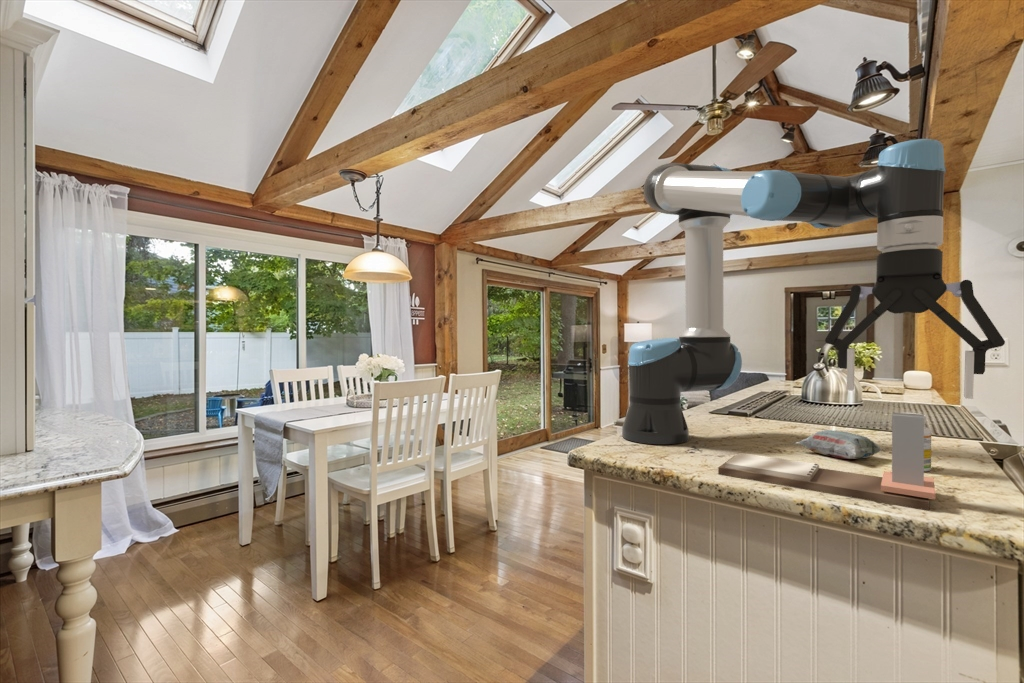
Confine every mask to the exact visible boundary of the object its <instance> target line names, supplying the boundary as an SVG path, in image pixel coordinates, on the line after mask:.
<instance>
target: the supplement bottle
mask: <svg viewBox="0 0 1024 683" xmlns="http://www.w3.org/2000/svg"><path fill="white" fill-rule="evenodd" d="M907 413H908V414H918V412H917V413H915V412H907ZM920 414H921V415H924V473H925V472H926V473H927V472H930V471H931V470H932V431H931V429H930V428H929V427H927V426H926V425H925V424H927V415H925V414H923V413H920Z"/></svg>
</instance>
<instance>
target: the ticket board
mask: <svg viewBox="0 0 1024 683" xmlns="http://www.w3.org/2000/svg"><path fill="white" fill-rule="evenodd" d="M717 470H718V473H717V474H718V475H720V476H721V475H722V476H727V477H733V478H740V479H745V480H751V481H755V482H762V483H768V484H774V485H780V486H786V487H791V488H795V489H803V490H808V491H813V492H820V493H826V494H831V495H836V496H837V495H838V496H842V497H848V498H854V499H861V500H866V501H871V502H877V503H881V504H882V503H884V504H889V505H895V506H900V507H901V506H902V507H906V508H912V509H917V510H918V509H919V510H922V511H923V510H924V511H930V499H929V498H923V497H917V496H910V495H904V494H898V493H892V492H886V491H881V482H882V478H883V476H875V475H869V474H864V473H863V474H862V473H858V472H857V473H856V472H850V471H842V470H835V469H830V468H824V467H823V468H821V467H820V464H819V463H814V462H806V461H801V460H800V461H799V460H794V459H793V460H792V459H786V458H779V457H772V456H766V455H765V456H764V455H756V454H751V453H743V452H738V453H737V454H736V455H733V457H731V458H729V459H728V460H726V461H725V462H724V463H722V464H721V465H720V466H718V467H717Z"/></svg>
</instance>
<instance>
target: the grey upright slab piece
mask: <svg viewBox="0 0 1024 683" xmlns="http://www.w3.org/2000/svg"><path fill="white" fill-rule="evenodd" d="M908 413H909V412H892V414H891V471H886V470H883V473H882V477H883V478H882V482H881V491H886V492H892V493H898V494H904V495H910V496H917V497H923V498H929V500H936V488H935V485H936V484H935V479H934V477H927V476H925V472H924V426H925V424H924V415H925V414H923V415H921V414H922V413H917V414H908Z"/></svg>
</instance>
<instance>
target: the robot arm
mask: <svg viewBox="0 0 1024 683" xmlns="http://www.w3.org/2000/svg"><path fill="white" fill-rule="evenodd" d="M877 161H878V162H876V164H877V167H875V168H872V169H869V170H867V171H864V172H863V171H862V172H859V173H857V174H854V175H849V176H840V175H827V174H817V173H814V174H813V173H804V172H797V171H795V172H794V171H788V170H784V169H783V170H782V169H769V170H768V169H765V170H761V171H755V170H754V171H753V170H752V171H746V170H745V171H741V170H737V171H736V170H735V171H734V170H733V171H732V169H730V168H727V167H726V168H725V167H721V166H717V165H700V164H691V163H690V164H689V163H682V162H669V163H664V164H661V165H659V166H657V167H656V168H655V169H653V170H651V171H650V173H649V174H648V175H647V177H646V179H645V181H644V184H643V195H644V200H645V201H646V203H647V205H648V206H649V207H650V208H651V209H652V210H654V211H656V212H658V213H661V214H665V215H675V216H678V227H679V228H680V229H682V230H683V231H684V234H685V235H684V242H685V243H684V244H685V246H684V248H685V249H684V252H685V253H684V255H685V257H684V258H685V261H684V262H685V263H684V264H685V270H684V271H685V273H684V274H685V289H684V290H685V328H684V330H683V331H682V332H681V333H680V334H679V335H678V336H679V337H664V338H655V339H646V340H642V341H637V342H634V343H633V344H631V346H630V347H629V350H628V351H629V353H628V361H627V362H628V378H629V379H628V381H629V382H628V384H629V388H628V390H629V392H628V395H629V398H628V399H629V404H628V405H629V406H628V408H627V411H626V415H625V418H624V421H623V424H622V428H621V432H622V435H621V436H622V438H624V439H625V440H628V441H630V442H635V443H640V444H648V445H677V444H683V443H686V442H688V441H689V439H690V431H689V428H688V427H689V426H688V424H687V421H686V418H685V416H684V413H683V410H682V407H681V406H682V405H681V397H682V396H681V394H682V393H687V392H688V393H689V392H702V391H704V392H705V391H706V392H714V391H719V390H725V389H728V388H730V387H731V386H733V384H734V383H736V382H737V380H738V379H739V376H740V375H741V372H742V365H743V363H742V362H743V359H742V354H741V352H740V351H739V348H738V347H737V346H736V345H735V344H734V343H732V342H731V334H730V333H728V332H727V330H726V329H725V327H724V229H725V227H726V226H727V225H728V224H729V223H730V222H731V216H732V215H734V216H742V217H750V218H752V219H754V220H755V219H756V220H760V221H768V222H772V221H773V222H776V221H779V222H782V221H783V222H800V223H801V222H802V223H808V224H810V225H811V227H814V228H815V229H820V230H821V229H822V230H823V229H829V228H835V229H836V228H840V227H842V226H845V225H850V224H854V223H857V222H862V221H866V220H872V219H875V218H876V219H877V226H876V227H877V228H876V230H877V231H876V232H877V234H876V249H877V251H879V252H881V253H879V254H878V255H877V256H876V275H875V276H876V279H875V284H874V286H860V285H858V284H855V285H852V286H851V288H850V292H849V293H850V294H849V299H848V301H847V303H846V305H844V306H845V307H844V308H843V309H842V310H841V313H840V314H839V316H838V318H837V319H836V321H835V323H834V324H833V326H832V327H831V329H830V330H829V332H828V334H827V335H826V338H824V339H825V340H824V341H825V343H826V344H827V345H832V346H835V347H837V349H838V367H839V369H846V391H851V392H853V391H854V389H855V365H856V363H855V361H856V360H855V358H856V356H855V354H856V353H855V352H856V350H855V348H852V347H851V348H850V346H851V345H852V344H853V342H855V341H856V340H857V339H858V338H859V337H860V336H861V335H863V333H864V332H865V331H867V329H869V328H870V327H871V326H872V325H873V324H874V323H876V321H877V320H878V319H880V318H881V316H883V315H884V314H885V313H886V312H887V311H888V312H889V313H892V314H905V313H912V314H921V313H926V312H927V311H930V312H932V313H933V314H934V315H935V316H936V317H937V318H939V320H941V321H942V322H943V323H944V324H945V325H946V326H947V327H949V329H951V330H952V332H954V333H955V334H957V336H958V337H960V338H961V339H962V340H963V341H964V342H965V343H966V344H968V345H969V346H970V347H971V348H972V350H965V352H964V380H963V382H964V387H963V388H964V389H963V390H964V391H963V396H964V398H965V399H968V400H969V399H971V400H972V399H974V380H975V379H974V377H975V376H974V375H984V373H985V371H986V353H987V351H989V350H990V349H994V348H999V347H1003V346H1004V345H1006V344H1005V343H1006V341H1005V339H1004V337H1003V336H1002V335H1001V333H1000V332H999V330H998V329H997V327H996V326H995V325H994V323H993V321H992V320H991V319H990V317H989V316H988V314H987V312H986V311H985V310H984V308H983V306H982V305H981V304H980V302H979V301H978V299H977V298H976V297H975V294H974V286H973V282H972V280H969V279H963V280H962V281H955V282H949V283H945V281H944V280H943V256H944V255H943V253H944V251H943V250H941V249H939V248H938V247H940V246H942V245H943V243H944V210H943V208H944V189H945V187H944V186H945V175H946V171H947V169H946V167H945V165H946V164H945V150H944V145H943V143H942V142H941V141H940V140H937V139H932V138H931V139H930V138H918V139H911V140H905V141H901V142H897V143H895V144H891V145H890V146H887V147H886V148H884V149H883V150H881V151H880V153H879V154H878V160H877ZM946 292H950V293H952V295H953V296H954V297H956V298H961V300H962V303H963V304H964V306H965V307H966V309H967V310H968V312H969V314H970V315H971V317H973V319H974V321H975V322H976V324H977V325H978V326H979V329H980V330H981V331H982V333H983V335H984V336H985V338H986V339H984V340H981V339H980V338H978V337H977V336H976V335H975V334H974V333H973V332H971V331H970V330H969V329H968V328H967V327H966V326H965V325H963V324H962V323H961V322H960V321H959V320H958V319H957V318H956V317H954V316H953V315H952V314H951V312H949V311H948V310H947V309H946V308H944V306H942V305H941V304H940V303H938V302H937V301H938V300H939V299H940V298H941V297H943V295H944V294H945V293H946ZM869 295H873V296H874V297H875V298H876V300H877V301H878V302H879V304H878V305H876V307H875V308H874V309H873V310H872V311H870V312H869V313H868V314H867V315H866V317H864V318H863V319H862V320H861V321H860V322H859V323H858V324H857V325H856V326H855V327H854V328H852V330H850V332H848V334H846V336H845V337H843V338H839V337H840V335H841V333H842V332H843V330H844V329H845V327H846V325H847V324H848V322H849V321H850V319H851V317H852V316H853V314H854V312H855V311H856V309H857V307H858V306H859V304H860V301H864V300H866V299H867V298H868V296H869Z"/></svg>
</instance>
